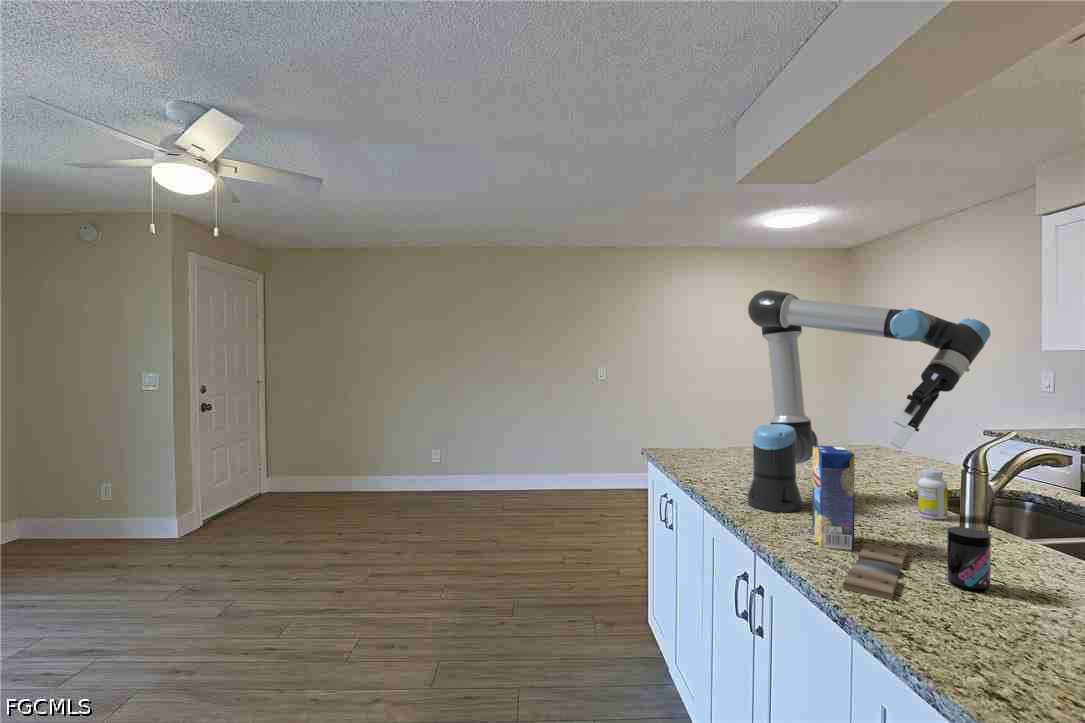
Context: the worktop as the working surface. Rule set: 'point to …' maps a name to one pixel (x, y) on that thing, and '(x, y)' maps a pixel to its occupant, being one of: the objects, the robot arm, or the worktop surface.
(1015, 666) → the worktop surface
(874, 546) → the hinge leaves
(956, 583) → the supplement container
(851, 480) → the beverage box
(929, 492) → the supplement bottle
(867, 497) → the worktop surface
